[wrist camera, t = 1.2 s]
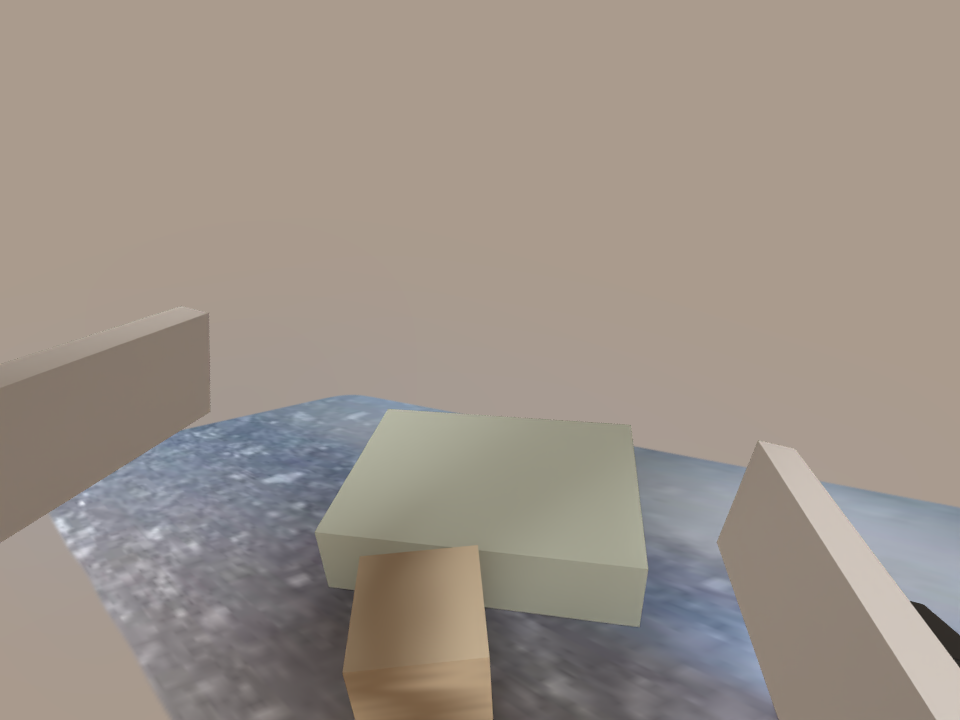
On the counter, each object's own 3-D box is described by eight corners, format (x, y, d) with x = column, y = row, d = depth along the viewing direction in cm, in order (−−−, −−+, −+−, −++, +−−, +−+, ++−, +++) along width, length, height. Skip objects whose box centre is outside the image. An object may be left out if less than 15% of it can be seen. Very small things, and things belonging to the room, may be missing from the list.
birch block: (488, 707, 28) (477, 544, 23) (498, 823, 24) (489, 657, 18) (393, 718, 28) (359, 556, 22) (386, 837, 24) (342, 673, 18)
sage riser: (625, 474, 44) (630, 424, 42) (639, 627, 32) (648, 569, 30) (395, 455, 48) (388, 409, 45) (328, 586, 35) (314, 532, 33)
